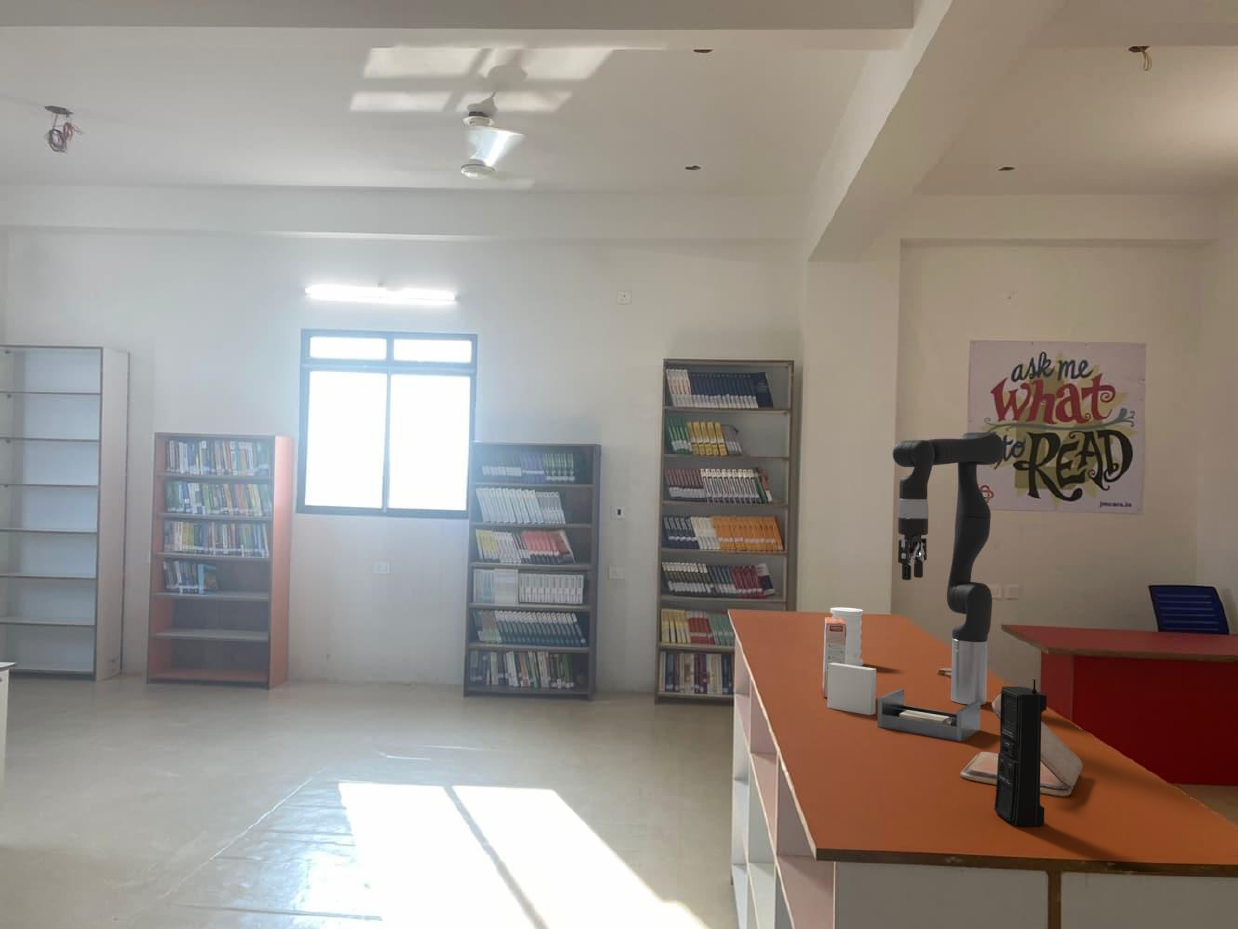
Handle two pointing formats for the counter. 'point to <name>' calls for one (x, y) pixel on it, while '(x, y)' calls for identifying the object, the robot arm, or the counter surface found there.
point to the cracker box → (833, 646)
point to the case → (1055, 767)
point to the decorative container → (851, 633)
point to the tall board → (851, 688)
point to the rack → (959, 730)
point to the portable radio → (1020, 756)
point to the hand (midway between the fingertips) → (912, 578)
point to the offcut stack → (926, 717)
